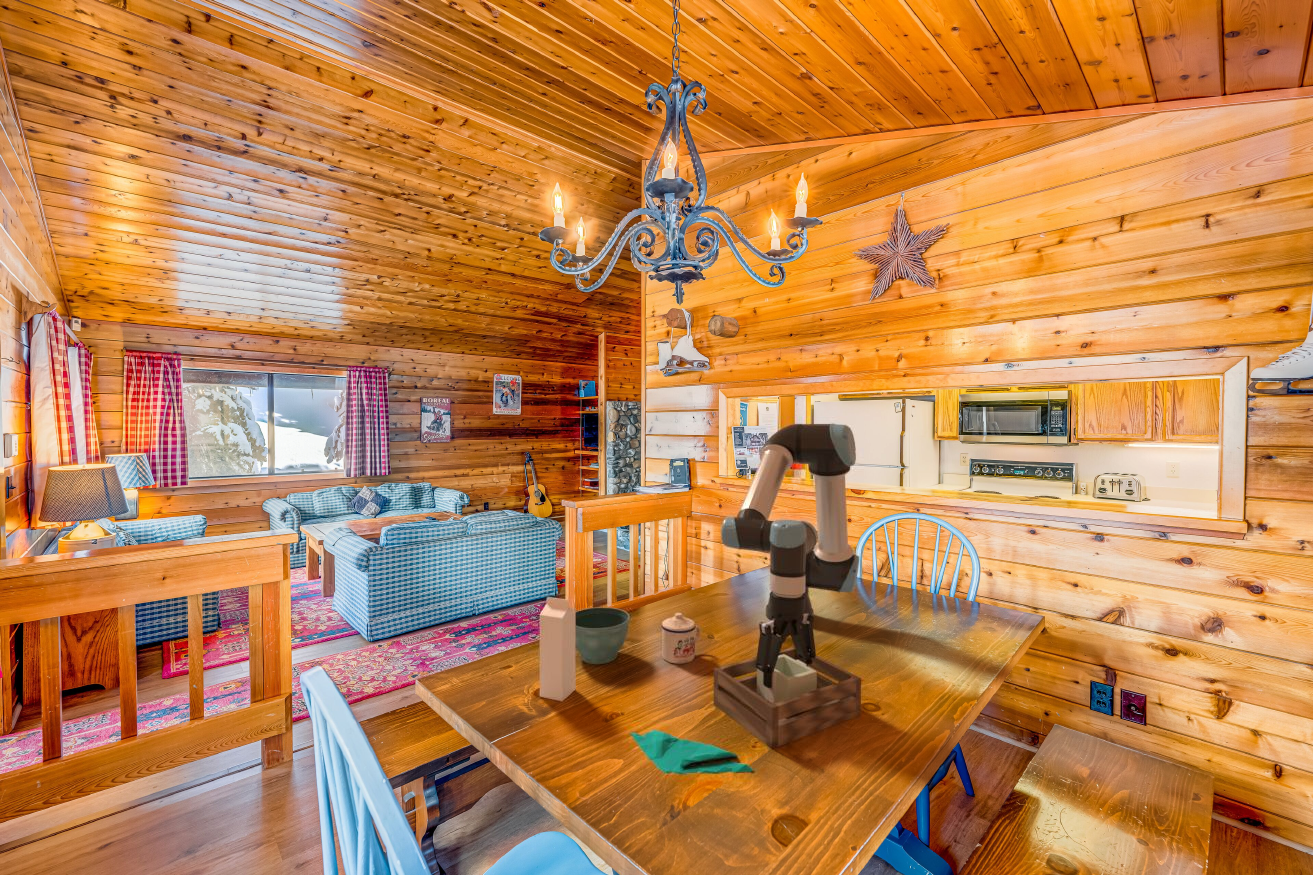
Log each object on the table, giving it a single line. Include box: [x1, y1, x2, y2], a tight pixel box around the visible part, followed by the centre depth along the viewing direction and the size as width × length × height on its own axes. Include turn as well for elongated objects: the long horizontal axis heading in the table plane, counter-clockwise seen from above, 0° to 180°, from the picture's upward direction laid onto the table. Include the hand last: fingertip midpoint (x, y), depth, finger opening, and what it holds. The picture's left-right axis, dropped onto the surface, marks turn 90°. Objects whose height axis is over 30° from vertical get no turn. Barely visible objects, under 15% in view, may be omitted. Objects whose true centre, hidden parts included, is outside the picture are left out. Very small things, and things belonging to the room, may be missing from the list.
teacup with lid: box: [661, 612, 702, 665], centre depth 145 cm, size 12×9×12 cm
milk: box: [539, 596, 576, 702], centre depth 124 cm, size 6×6×22 cm
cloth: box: [629, 729, 756, 775], centre depth 102 cm, size 26×14×2 cm, turn 51°
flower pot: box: [575, 606, 630, 665], centre depth 144 cm, size 16×16×11 cm
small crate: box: [756, 654, 818, 703], centre depth 118 cm, size 8×10×7 cm
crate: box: [713, 646, 862, 750], centre depth 118 cm, size 25×19×8 cm
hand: (785, 695), depth 118 cm, fingers closed on small crate, 8 cm apart
